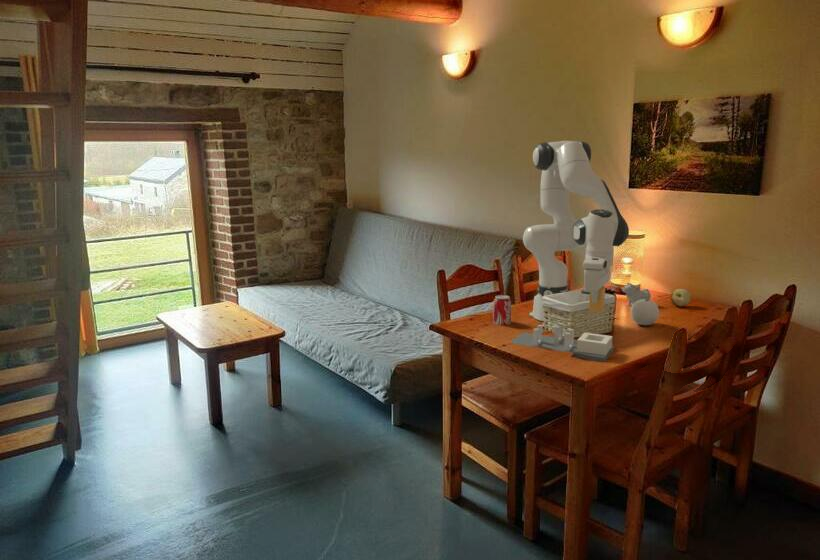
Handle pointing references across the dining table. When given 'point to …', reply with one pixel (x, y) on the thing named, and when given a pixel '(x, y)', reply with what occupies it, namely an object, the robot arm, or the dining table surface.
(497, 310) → the soda can
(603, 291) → the plug
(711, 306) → the dining table surface
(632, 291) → the dog figurine
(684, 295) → the fruit
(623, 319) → the dining table surface
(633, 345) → the dining table surface
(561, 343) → the board
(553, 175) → the robot arm
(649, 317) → the ornament
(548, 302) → the storage basket
